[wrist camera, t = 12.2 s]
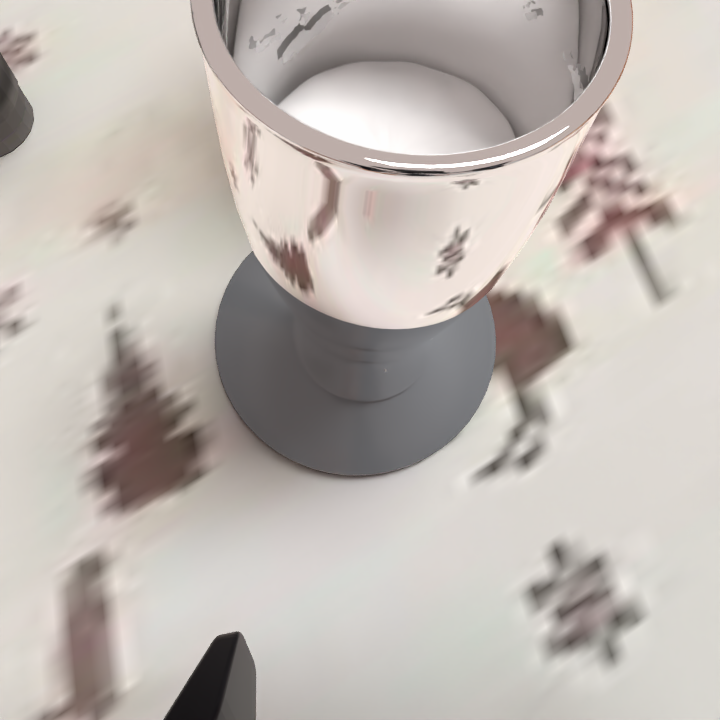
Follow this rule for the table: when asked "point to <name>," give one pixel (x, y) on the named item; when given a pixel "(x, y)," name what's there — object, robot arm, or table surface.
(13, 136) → the beverage cup
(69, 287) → the table surface
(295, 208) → the silver metal tumbler
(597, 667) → the table surface
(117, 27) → the table surface
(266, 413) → the coaster
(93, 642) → the table surface
